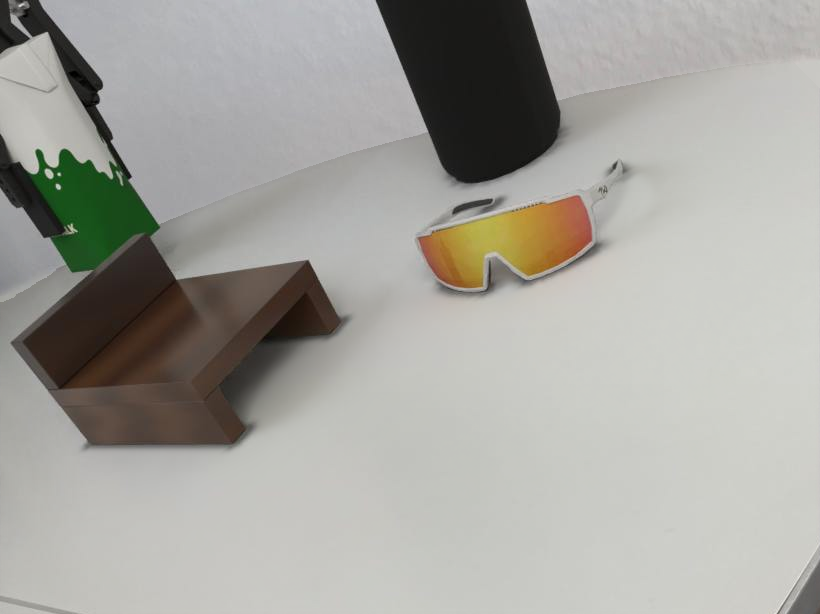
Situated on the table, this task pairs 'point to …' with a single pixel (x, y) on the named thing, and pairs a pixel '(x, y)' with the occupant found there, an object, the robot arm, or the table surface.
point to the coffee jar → (476, 82)
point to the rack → (164, 343)
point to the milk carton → (66, 157)
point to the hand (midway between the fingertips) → (88, 206)
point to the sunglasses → (512, 236)
